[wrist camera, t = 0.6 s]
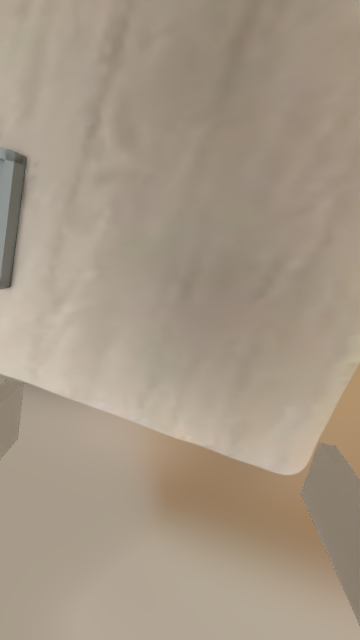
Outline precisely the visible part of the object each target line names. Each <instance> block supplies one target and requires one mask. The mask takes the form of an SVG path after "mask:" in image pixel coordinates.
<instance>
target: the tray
mask: <svg viewBox="0 0 360 640" xmlns="http://www.w3.org/2000/svg"><path fill="white" fill-rule="evenodd" d="M25 164H26V157H24V156H22V155H20V154H19V153H17V152H14V151H10V150H6V149H2V148H0V289H4V288H8V287H10V284H11V276H12V268H13V260H14V252H15V244H16V236H17V228H18V220H19V212H20V204H21V196H22V188H23V180H24V172H25Z"/></svg>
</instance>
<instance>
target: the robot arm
mask: <svg viewBox="0 0 360 640" xmlns="http://www.w3.org/2000/svg"><path fill="white" fill-rule="evenodd" d="M23 388H24V383H22V382H17V381H12V380H5V381H4V382H2V383H1V384H0V459H1V458H2V457H3V456H4V455H5V453H6V452H7V451H8V450H9V449H10V447H11V446H12V445H13V444H14V443H15V441H16V440H17V439H18V433H19V424H20V414H21V406H22V397H23ZM301 496H302V498H303V500H304V503H305V505H306V507H307V509H308V512H309V514H310V516H311V518H312V521H313V523H314V525H315V527H316V529H317V532H318V534H319V536H320V538H321V540H322V543H323V545H324V547H325V549H326V552H327V554H328V556H329V558H330V561H331V563H332V565H333V567H334V569H335V571H336V574H337V576H338V578H339V580H340V583H341V585H342V587H343V589H344V592H345V594H346V596H347V598H348V600H349V602H350V605H351V607H352V609H353V611H354V614H355V616H356V618H357V620H358V623H359V625H360V479H359V478H358V476H357V475H356V474H355V472H354V471H353V469H352V468H351V467H350V465H349V464H348V462H347V461H346V460H345V458H344V457H343V456H342V454H341V453H340V451H339V450H338V449H337V447H336V446H333V445H328V444H323V443H319V444H318V447H317V449H316V452H315V455H314V458H313V461H312V464H311V466H310V469H309V472H308V475H307V478H306V481H305V483H304V486H303V489H302V492H301Z"/></svg>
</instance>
